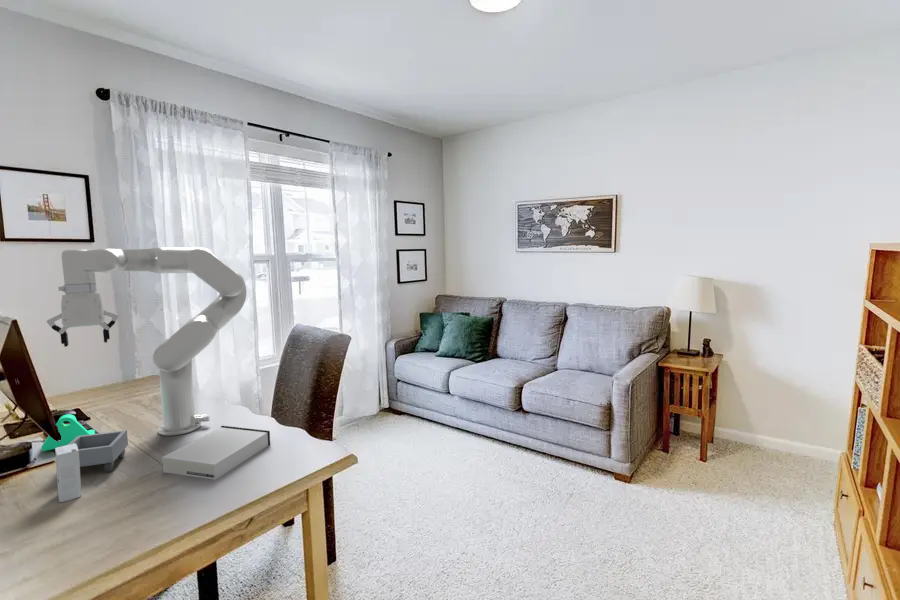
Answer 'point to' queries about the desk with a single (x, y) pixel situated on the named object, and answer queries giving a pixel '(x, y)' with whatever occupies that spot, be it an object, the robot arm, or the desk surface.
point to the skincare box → (68, 472)
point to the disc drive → (216, 452)
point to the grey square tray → (101, 448)
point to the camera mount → (66, 432)
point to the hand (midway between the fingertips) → (86, 343)
